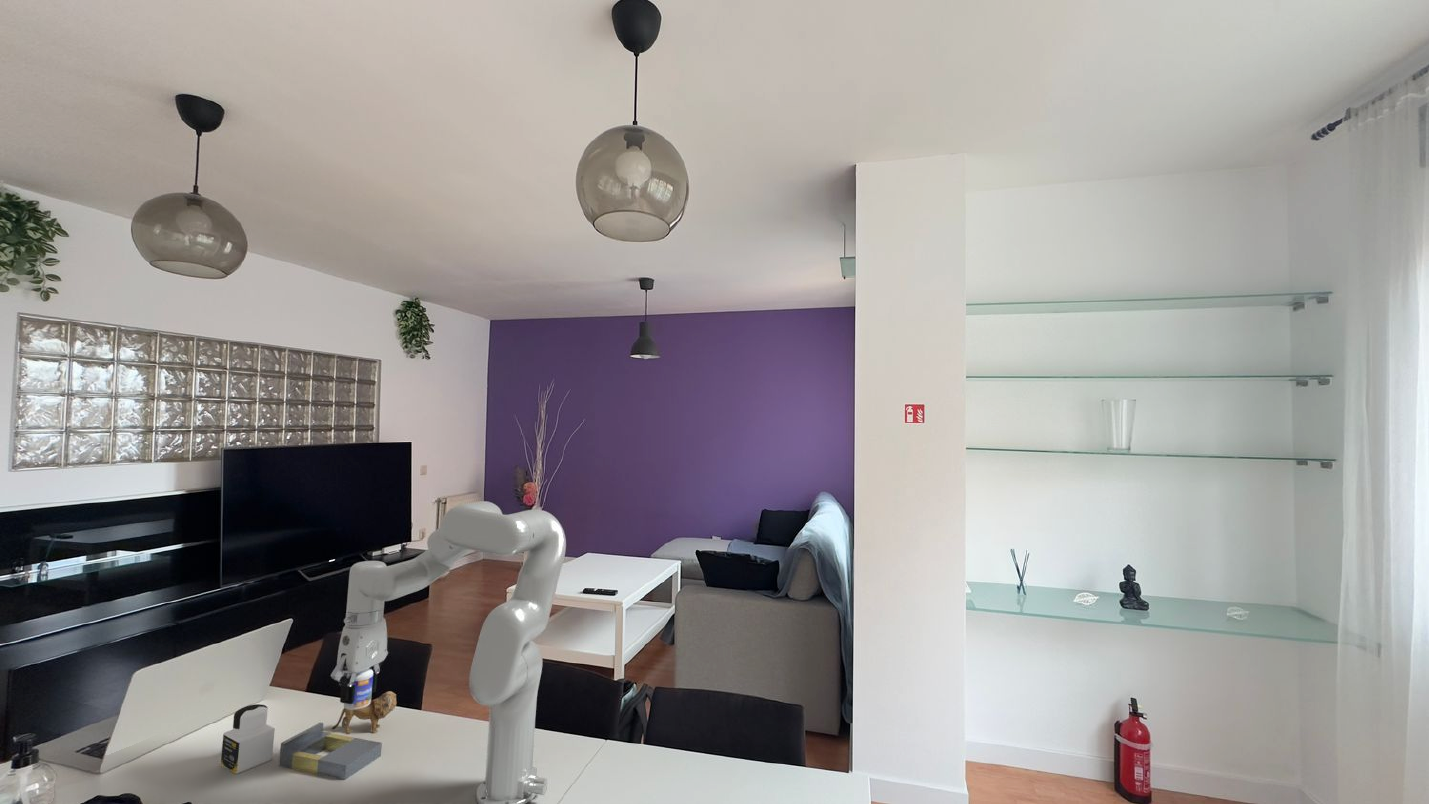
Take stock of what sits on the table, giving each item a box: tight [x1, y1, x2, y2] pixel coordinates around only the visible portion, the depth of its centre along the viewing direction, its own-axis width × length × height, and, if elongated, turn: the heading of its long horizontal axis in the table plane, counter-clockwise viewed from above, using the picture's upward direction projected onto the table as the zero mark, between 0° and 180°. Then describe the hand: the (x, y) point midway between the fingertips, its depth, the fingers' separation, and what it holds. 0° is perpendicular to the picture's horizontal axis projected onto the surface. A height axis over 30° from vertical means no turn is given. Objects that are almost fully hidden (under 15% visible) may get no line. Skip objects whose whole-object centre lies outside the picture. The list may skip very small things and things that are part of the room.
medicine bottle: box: [220, 704, 275, 775], centre depth 133 cm, size 7×7×12 cm
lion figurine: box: [330, 690, 397, 735], centre depth 149 cm, size 15×5×9 cm, turn 103°
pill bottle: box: [343, 668, 373, 710], centre depth 134 cm, size 5×5×10 cm
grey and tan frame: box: [278, 722, 383, 781], centre depth 134 cm, size 18×10×5 cm, turn 77°
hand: (358, 696), depth 134 cm, fingers closed on pill bottle, 5 cm apart
